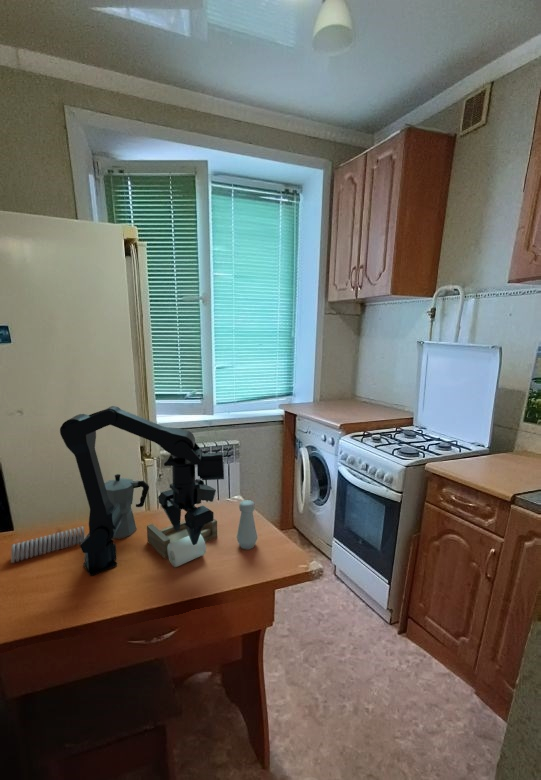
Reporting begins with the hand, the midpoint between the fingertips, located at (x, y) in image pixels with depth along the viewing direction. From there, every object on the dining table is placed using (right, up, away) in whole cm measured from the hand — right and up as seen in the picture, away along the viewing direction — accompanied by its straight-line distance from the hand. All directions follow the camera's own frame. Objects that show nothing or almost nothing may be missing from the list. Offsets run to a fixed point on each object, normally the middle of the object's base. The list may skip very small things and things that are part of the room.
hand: (185, 537), depth 96 cm
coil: (-38, -6, +5) cm, 39 cm away
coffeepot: (-22, -4, +15) cm, 27 cm away
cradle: (-3, -5, +11) cm, 12 cm away
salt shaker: (+16, -6, +8) cm, 18 cm away
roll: (0, -6, +1) cm, 7 cm away
